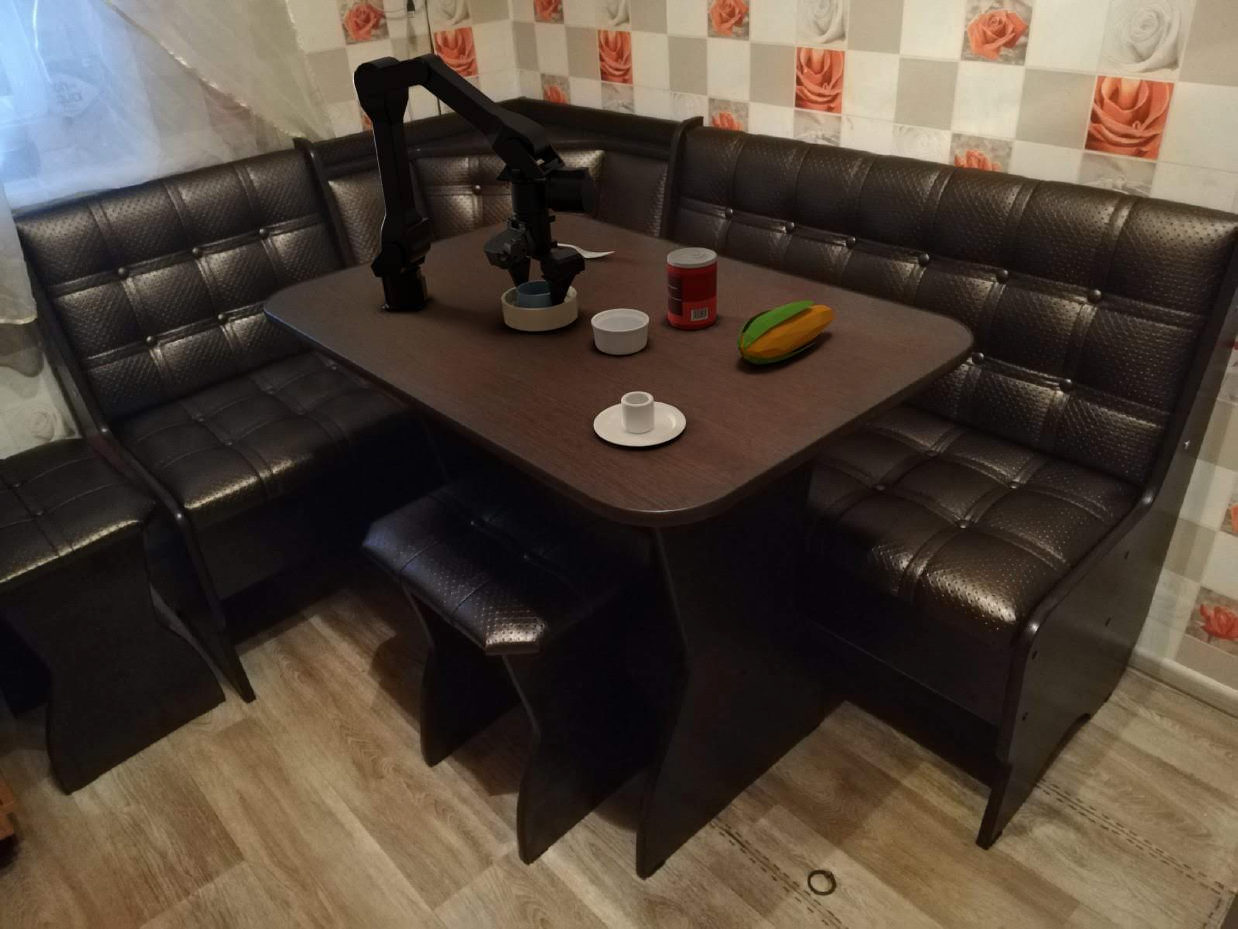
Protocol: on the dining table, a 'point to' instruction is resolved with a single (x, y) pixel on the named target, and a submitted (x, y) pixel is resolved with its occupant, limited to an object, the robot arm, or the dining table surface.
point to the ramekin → (620, 331)
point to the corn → (782, 331)
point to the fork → (586, 252)
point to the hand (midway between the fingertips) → (539, 303)
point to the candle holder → (639, 421)
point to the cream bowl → (539, 313)
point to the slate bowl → (534, 294)
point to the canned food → (692, 288)
